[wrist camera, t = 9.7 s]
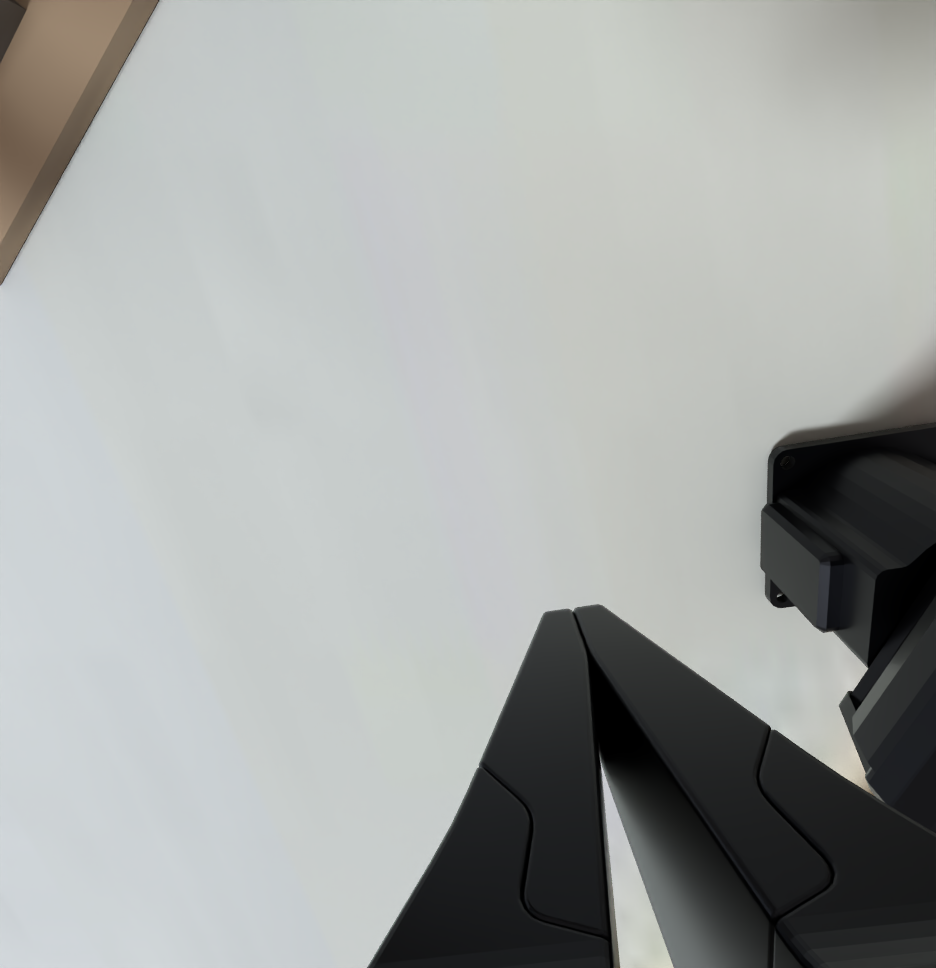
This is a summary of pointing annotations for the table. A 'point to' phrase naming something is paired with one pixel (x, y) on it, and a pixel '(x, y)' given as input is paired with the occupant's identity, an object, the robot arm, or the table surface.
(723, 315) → the table surface
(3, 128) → the button stand
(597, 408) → the table surface
